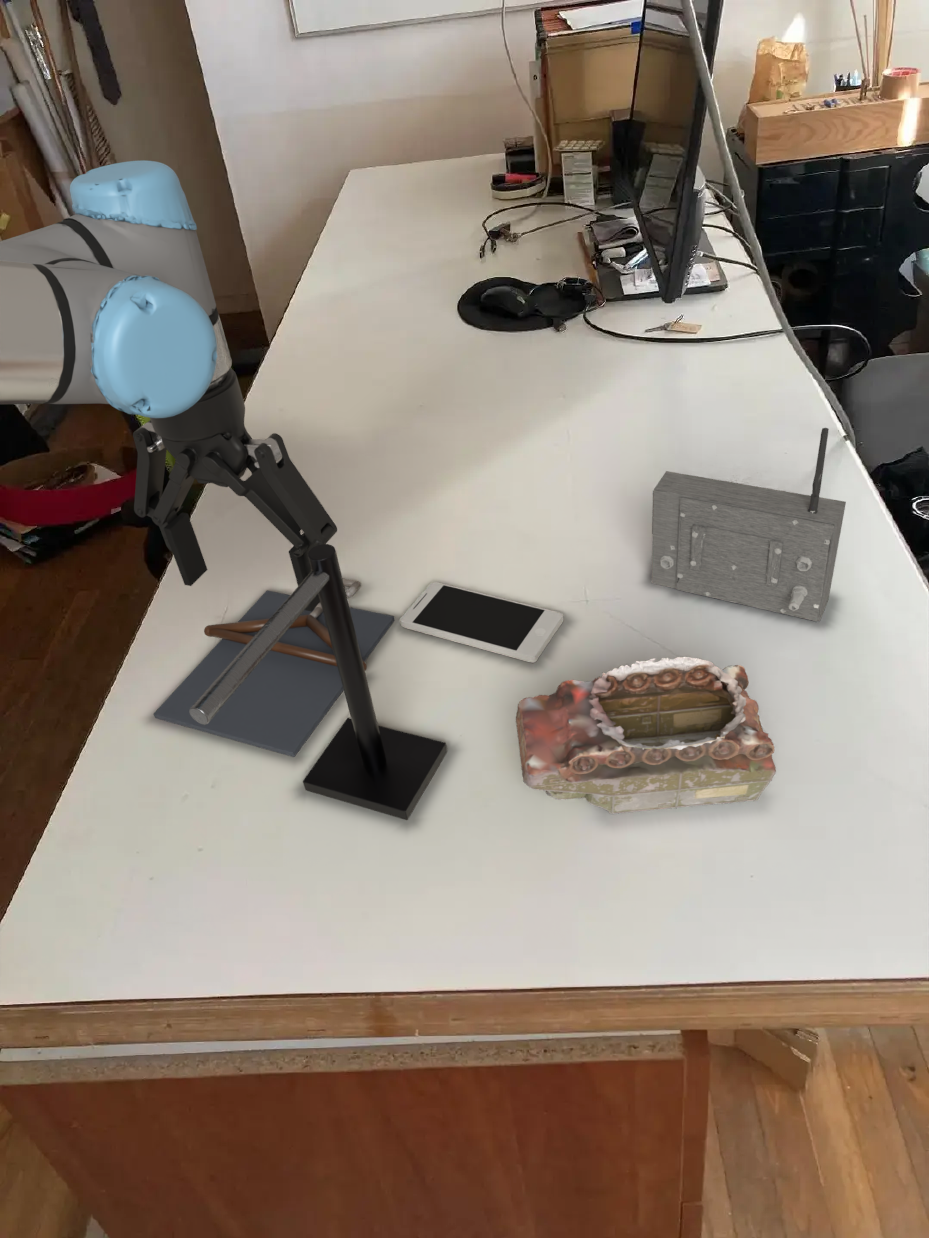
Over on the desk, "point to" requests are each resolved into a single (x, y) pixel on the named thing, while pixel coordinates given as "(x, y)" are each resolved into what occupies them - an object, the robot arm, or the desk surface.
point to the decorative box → (648, 738)
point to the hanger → (236, 629)
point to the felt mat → (272, 684)
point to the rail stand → (361, 750)
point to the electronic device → (747, 541)
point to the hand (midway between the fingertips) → (254, 589)
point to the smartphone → (483, 621)
